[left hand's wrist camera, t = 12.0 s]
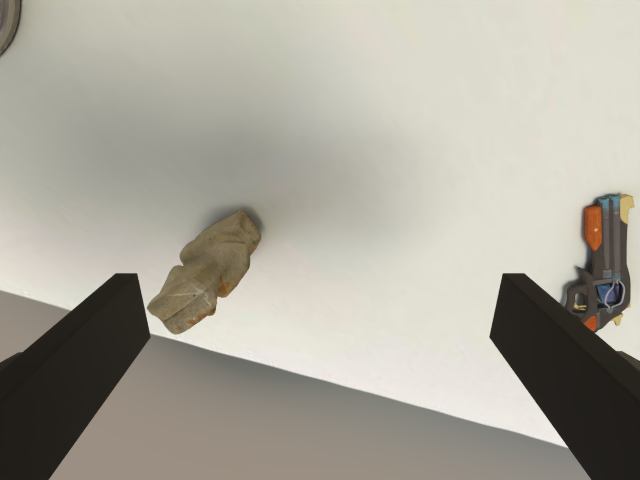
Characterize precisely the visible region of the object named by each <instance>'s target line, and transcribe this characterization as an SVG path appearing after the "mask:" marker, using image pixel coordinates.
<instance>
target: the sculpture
mask: <svg viewBox="0 0 640 480" xmlns="http://www.w3.org/2000/svg"><path fill="white" fill-rule="evenodd" d="M260 239H261V234H260V232H259V230H258V229H257V227H256V226H255V225H254V224H253V223H252V222H251V220H250V219H249V217H248V216H247V215H246V214H245V213H244V211H242V210H240V211H238V212H236V213H235V214H233V215H231V216H229V217H227V218H225V219H222V220H221V221H219V222H217V223H215V224H214V225H212V226H210V227H209V228H207V229H206V230H205V231H203V232H202V233H201V234H199V235H198V236H197V237H196V239H195V240H193V241H191V242H189V243H188V244H187V245H186V246H185V247H184V248H183V249H182V251H181V253H180V260H181V262H182V263H183V265H184V266H179V265H178V266H174V267H173V268H172V269H171V271H170V273H169V275H168V277H167V280H166V282H165V284H164V286H163V288H162V290H161V292H160V293H159V294H158V295H157V296H156V297H155V298H153V299H152V300H151V302H150V303H149V304H148V306H147V309H148V311H149V312H150V313H151V314H152V315H154V316H156V317H158V318H159V319H160V320H161V321H162V322H163V324H164V325H165V327H166V328H167V329H168V330H169V331H170V332H171V333H173V334H180V333H183V332H184V331H186V330H188V329H190V328H191V327H192V326H194V325H195V324H197V323H198V322H200V321H201V320H202V319H203V318H205V317H206V316H212V315H214V313H215V311H216V305H217V296H218V297H221V298H224V297H227V296H228V295H229V294H230V293H231V292H232V290H233V289H234V288H235V287H236V286H237V285H238V283H239V282H240V280H241V279H242V278H243V276H244V275H245V273H246V272H247V271H248V269H249V266H250V255H251V254H252V253H253V252H254V250H255V249H256V247H257V245H258V244H259V242H260Z"/></svg>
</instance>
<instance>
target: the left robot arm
mask: <svg viewBox="0 0 640 480" xmlns="http://www.w3.org/2000/svg"><path fill="white" fill-rule="evenodd" d="M19 10H20V0H0V54H1V53H2V52H3V51H4V50H5V49H6V47H7V46H8V45H9V43H10V41H11V39H12V38H13V35H14V33H15V30H16V27H17V23H18V18H19ZM149 339H150V332H149V327H148V323H147V318H146V313H145V308H144V304H143V299H142V294H141V289H140V285H139V280H138V275H137V273H116V274H115V275H113V276H112V277H111V278H110V279H109V280H107V281H106V282H105V283H104V284H103V285H102V286H100V287H99V288H98V289H97V290H96V291H94V292H93V293H92V294H91V295H90V296H89V297H87V298H86V299H85V300H84V301H83V302H81V303H80V304H79V305H78V306H77V307H76V308H74V309H73V310H72V311H71V312H70V313H68V314H67V315H66V316H65V317H64V318H63V319H61V320H60V321H59V322H58V323H57V324H56V325H54V326H53V327H52V328H51V329H50V330H48V331H47V332H46V333H45V334H44V335H42V336H41V337H40V338H39V339H38V340H37V341H35V342H34V343H33V344H32V345H31V346H30V347H28V348H27V349H26V350H25V351H24V352H19V353H17V354H15V355H13V356H11V357H9V358H8V359H6V360H4V361H2V362H0V480H49V478H50V477H51V476H52V474H53V473H54V471H55V470H56V469H57V467H58V466H59V464H60V463H61V462H62V460H63V459H64V457H65V456H66V455H67V453H68V452H69V450H70V449H71V448H72V446H73V445H74V443H75V442H76V441H77V439H78V438H79V436H80V435H81V434H82V432H83V431H84V429H85V428H86V427H87V425H88V424H89V423H90V421H91V420H92V418H93V417H94V415H95V414H96V413H97V411H98V410H99V409H100V407H101V406H102V404H103V403H104V402H105V400H106V399H107V397H108V396H109V395H110V393H111V392H112V390H113V389H114V388H115V386H116V385H117V383H118V382H119V381H120V379H121V378H122V376H123V375H124V374H125V372H126V371H127V369H128V368H129V367H130V365H131V364H132V362H133V361H134V360H135V358H136V357H137V355H138V354H139V353H140V351H141V350H142V348H143V347H144V346H145V344H146V343H147V341H148V340H149ZM490 339H491V340H492V342H493V343H494V344H495V346H496V347H497V349H498V350H499V351H500V353H501V354H502V355H503V357H504V358H505V360H506V361H507V362H508V364H509V365H510V367H511V368H512V369H513V371H514V372H515V374H516V375H517V376H518V378H519V379H520V381H521V382H522V383H523V385H524V386H525V388H526V389H527V390H528V392H529V393H530V395H531V396H532V397H533V399H534V400H535V402H536V403H537V404H538V406H539V407H540V409H541V410H542V411H543V413H544V414H545V416H546V417H547V418H548V420H549V421H550V423H551V424H552V425H553V427H554V428H555V429H556V431H557V432H558V434H559V435H560V436H561V438H562V439H563V441H564V442H565V443H566V445H567V446H568V448H569V449H570V450H571V452H572V453H573V455H574V456H575V457H576V459H577V460H578V462H579V463H580V464H581V466H582V467H583V469H584V470H585V471H586V473H587V474H588V476H589V477H590V478H591V480H640V361H639V360H637V359H635V358H633V357H632V356H630V355H628V354H626V353H624V352H622V351H615V350H614V349H613V348H612V347H611V346H609V345H608V344H607V343H606V342H605V341H603V340H602V339H601V338H600V337H599V336H598V335H596V334H595V333H594V332H593V331H592V330H590V329H589V328H588V327H587V326H586V325H585V324H583V323H582V322H581V321H580V320H579V319H577V318H576V317H575V316H574V315H573V314H572V313H570V312H569V311H568V310H567V309H566V308H564V307H563V306H562V305H561V304H560V303H559V302H557V301H556V300H555V299H554V298H553V297H551V296H550V295H549V294H548V293H547V292H546V291H544V290H543V289H542V288H541V287H540V286H538V285H537V284H536V283H535V282H534V281H533V280H531V279H530V278H529V277H528V276H527V275H525V274H524V273H503V275H502V280H501V285H500V289H499V294H498V299H497V304H496V308H495V313H494V318H493V322H492V327H491V332H490Z"/></svg>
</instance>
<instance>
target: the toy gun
mask: <svg viewBox="0 0 640 480" xmlns="http://www.w3.org/2000/svg"><path fill="white" fill-rule="evenodd" d="M633 207H634V202H633V197H632V196H630V195H627V194H623V195H617V194H616V195H609V196H608V198H607V197H603V198H599V201H598V202H597V205H595V206H590V207H587V208H585V239H586V241H587V243H588V244H589V246H590V248H591V249H592V266H591V270H590V272H587V271H586V270H584V269H582V268H578V269H579V271H580V273H581V275H582V279H583V282H582V283H580V284H574V285H572V286H570V287H569V288H568V289H567V301H566V304H565V307H564V308H566V309H567V310H568V311H569V312H570V313H572V314H573V315H576V318H577V319H579V320H580V321H581V322H582V323H583V324H585V325H586V326H587V327H588V328H589V329H590V330H592V331H593V332H594V333H595V332H597V331H598V330H600V329H602V328H603V327H604V326H605V325H606V324H607V323H608V322H609V321H614V322H615V325H616V326H618V325H619V324H620V321H621V318H622V317H623V314H622V313H621V312H622V311H623V310H625V309H626V308H628V307H631V306H630V276H629V271H628V268H627V262H626V251H627V225H628V210H629V208H633ZM612 279H613V281H612ZM614 280H618V284H617V283H615V282H614ZM576 293H583V294H584V305H577V304H576V302H575V294H576ZM597 294H598V295H599V297H600V299H601V300H602V301H600V300H599V299H598V298H597ZM597 300H598V301H600V302H601V304H597ZM614 301H615V302H614ZM573 307H574V308H576V309H579V311H574V310H572V309H573ZM578 307H583V308H578Z"/></svg>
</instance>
